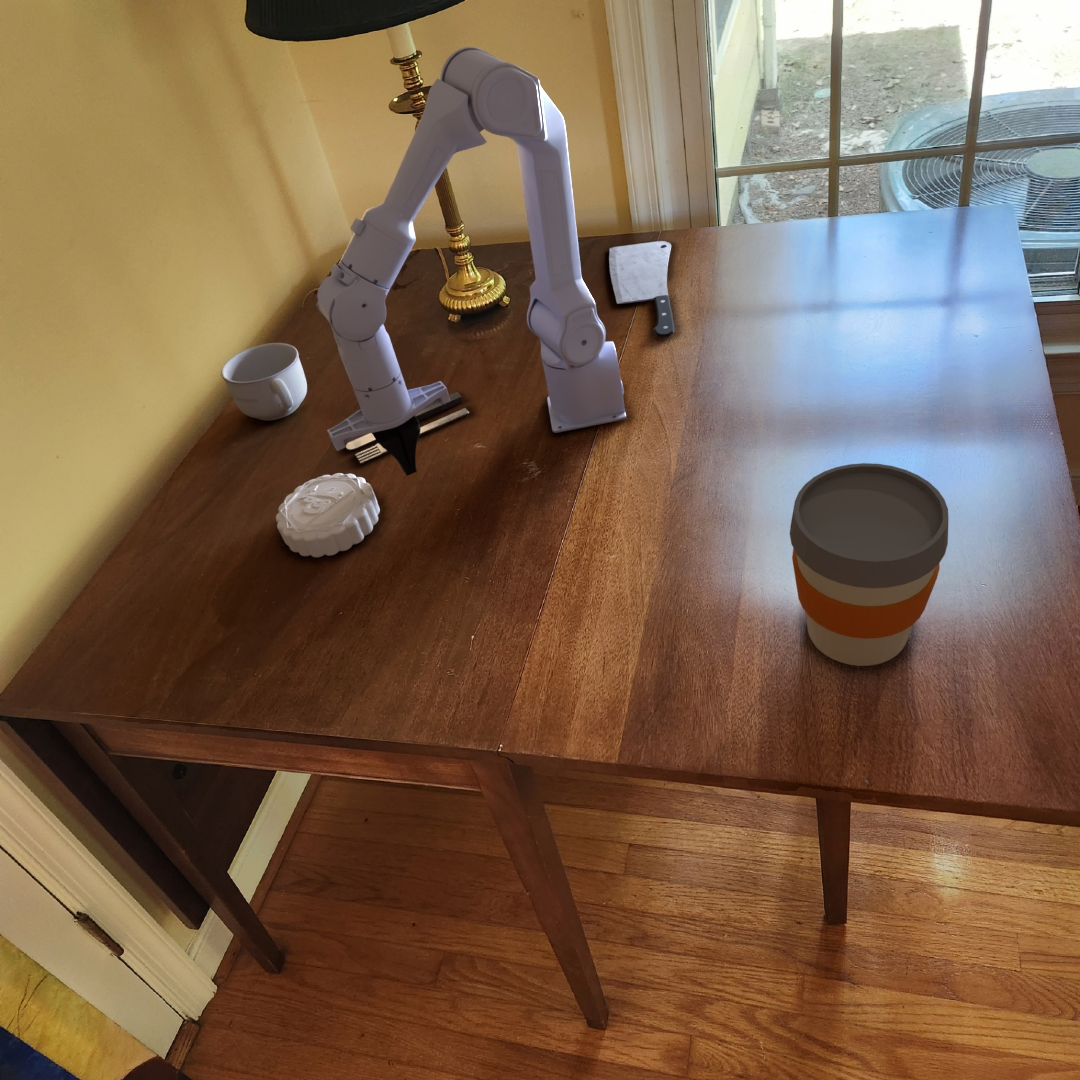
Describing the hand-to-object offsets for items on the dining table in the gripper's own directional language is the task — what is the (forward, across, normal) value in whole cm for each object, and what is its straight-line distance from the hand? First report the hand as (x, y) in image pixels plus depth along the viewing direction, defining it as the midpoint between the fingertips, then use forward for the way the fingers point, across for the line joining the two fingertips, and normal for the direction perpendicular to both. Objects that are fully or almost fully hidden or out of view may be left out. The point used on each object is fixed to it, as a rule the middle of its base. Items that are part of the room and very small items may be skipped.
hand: (409, 469), depth 110 cm
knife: (+2, -4, -13) cm, 14 cm away
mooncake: (+3, +11, 0) cm, 11 cm away
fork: (+2, -4, -10) cm, 11 cm away
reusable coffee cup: (+3, -27, +48) cm, 55 cm away
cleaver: (+3, -46, -21) cm, 51 cm away
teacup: (+3, +10, -28) cm, 30 cm away
